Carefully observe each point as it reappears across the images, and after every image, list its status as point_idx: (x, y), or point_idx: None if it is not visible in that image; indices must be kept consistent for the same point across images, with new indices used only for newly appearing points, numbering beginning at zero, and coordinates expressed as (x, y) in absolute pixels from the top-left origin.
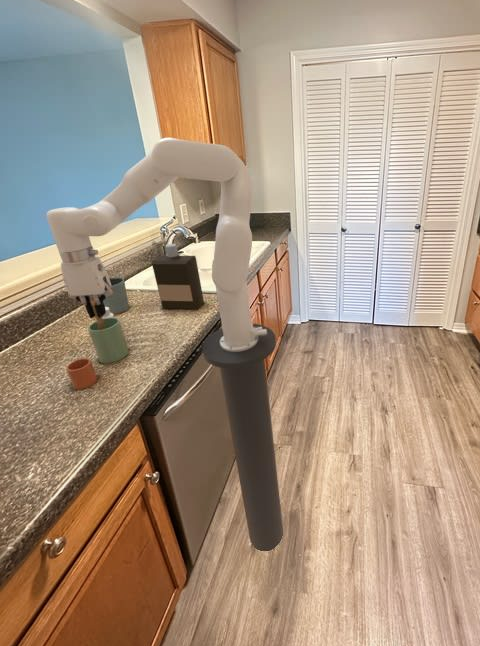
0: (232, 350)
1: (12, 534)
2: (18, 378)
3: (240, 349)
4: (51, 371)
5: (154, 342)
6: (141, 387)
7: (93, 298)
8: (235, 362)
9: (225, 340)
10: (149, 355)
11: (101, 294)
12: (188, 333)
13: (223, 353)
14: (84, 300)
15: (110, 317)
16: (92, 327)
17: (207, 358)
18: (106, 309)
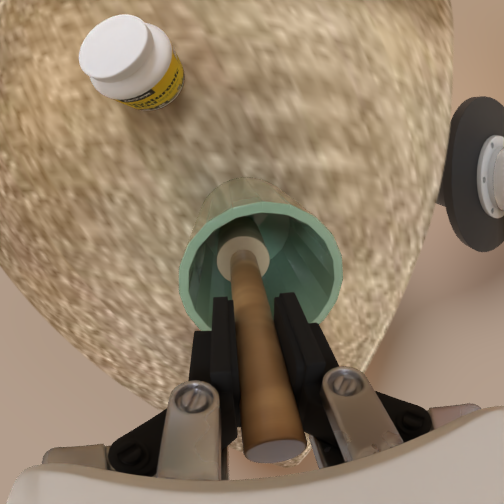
0: (491, 216)
1: (289, 467)
2: (53, 310)
3: (499, 217)
4: (101, 293)
5: (358, 158)
6: (366, 348)
7: (290, 452)
8: (486, 249)
9: (495, 196)
10: (363, 236)
11: (380, 438)
12: (436, 129)
13: (478, 216)
14: (223, 475)
15: (263, 205)
16: (190, 281)
17: (457, 227)
18: (137, 40)
